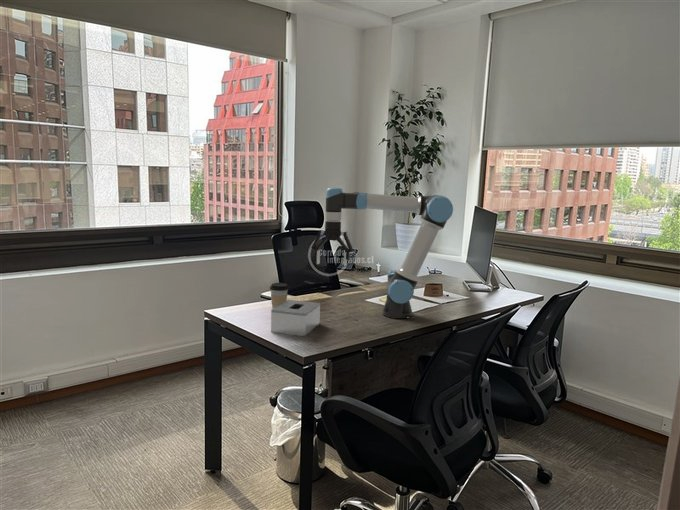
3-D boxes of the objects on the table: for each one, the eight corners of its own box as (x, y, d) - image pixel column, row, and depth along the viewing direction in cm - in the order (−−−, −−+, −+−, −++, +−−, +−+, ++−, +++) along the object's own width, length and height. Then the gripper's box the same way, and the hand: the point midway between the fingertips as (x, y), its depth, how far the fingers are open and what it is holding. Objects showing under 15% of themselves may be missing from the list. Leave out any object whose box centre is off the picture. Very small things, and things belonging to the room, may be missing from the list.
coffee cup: (279, 310, 253) (279, 281, 251) (292, 314, 247) (292, 284, 245) (265, 313, 246) (265, 284, 244) (278, 317, 240) (279, 287, 238)
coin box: (319, 323, 233) (320, 303, 231) (305, 336, 214) (305, 313, 212) (287, 319, 237) (288, 299, 235) (271, 331, 218) (271, 309, 216)
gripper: (360, 221, 235) (358, 265, 238) (310, 218, 241) (309, 261, 244) (356, 223, 227) (354, 268, 231) (305, 219, 234) (304, 264, 237)
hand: (331, 265), depth 238 cm, fingers open, 13 cm apart
